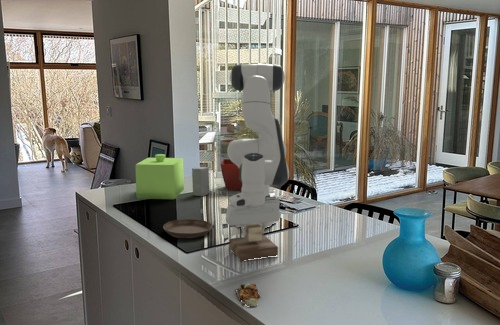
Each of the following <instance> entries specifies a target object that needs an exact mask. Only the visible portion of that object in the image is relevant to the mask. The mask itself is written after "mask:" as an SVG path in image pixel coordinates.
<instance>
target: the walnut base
mask: <svg viewBox="0 0 500 325" xmlns="http://www.w3.org/2000/svg"><path fill="white" fill-rule="evenodd" d="M229 249H231V250H232V251H233V252H234V253H235V254H234V253H233V252H232V251H231V250H230V251H231V252H232V253H233V254H234V256H235V257H236V256H237V257H238V258H239V259H240V260H241V261H244V260H248V259H254V258H261V257H268V256H276V255H279V246H278V245H276V243H274V242H273V241H272V240H271V239H269V238H268V237H267V236H266V235H264V234H262V240H260V241H251V242H249V241H248V240H247V239H246V238H245V236H243V237H242V236H241V237H233V238H232V237H231V238H229ZM237 257H236V258H237ZM238 258H237V259H238ZM239 259H238V260H239ZM240 260H239V261H240ZM241 261H240V262H241ZM244 262H245V261H244Z"/></svg>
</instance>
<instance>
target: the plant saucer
mask: <svg viewBox="0 0 500 325" xmlns="http://www.w3.org/2000/svg"><path fill="white" fill-rule="evenodd" d="M162 227H163V229H164V231H165V233H167V234H168V235H169V236H171V237H174V238H178V239H196V238H200V237H203V236H205V235H207V234H208V233H209V232H210V231H211V229H212V228H213V224H212V223H211V222H209V221H207V220H202V219H195V218H194V219H193V218H185V219H184V218H183V219H175V220H171V221H168V222H166V223H165V224H163V226H162Z"/></svg>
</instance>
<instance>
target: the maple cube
mask: <svg viewBox="0 0 500 325" xmlns="http://www.w3.org/2000/svg"><path fill="white" fill-rule="evenodd" d="M244 229H245V230H247V231H248V236H244V237H245V238H246V239H247V240H248V241H249V242H251V241H260V240H262V235H263V234H262V227H261V226H260V225H259V224H258V223H255V224H245V228H244Z"/></svg>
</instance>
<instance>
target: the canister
mask: <svg viewBox="0 0 500 325" xmlns="http://www.w3.org/2000/svg"><path fill="white" fill-rule="evenodd" d="M134 166H135V168H134V169H135V190H136V191H135V193H136V194H135V195H136V199H137V200H138V199H139V200H143V199H144V200H175V199H176V198H177V197H178V196H180V195H181V193H182V192H183V191H184V190H185V185H184V184H185V183H184V182H185V181H184V179H185V177H184V175H185V174H184V157H166V154H165V153H164V154H163V153H159V154H154V157H147V158H145V159H143V160H142V161H139V162H138V163H136V164H135V165H134Z"/></svg>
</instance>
